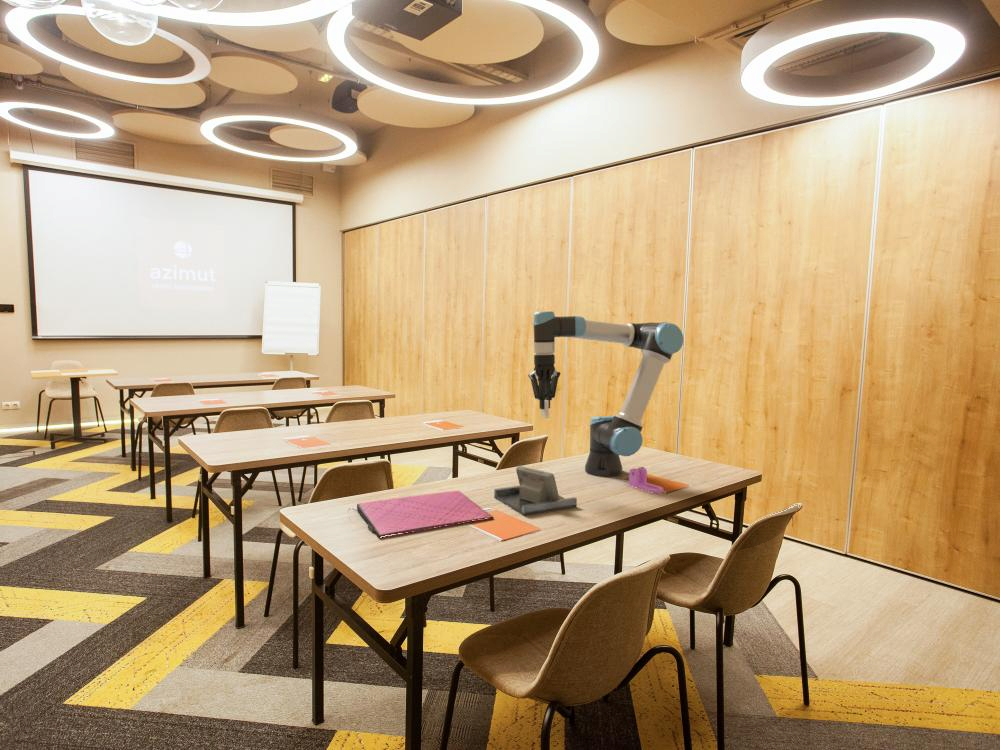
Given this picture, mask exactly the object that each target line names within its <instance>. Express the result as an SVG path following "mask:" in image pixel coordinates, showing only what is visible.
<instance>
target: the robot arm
mask: <svg viewBox="0 0 1000 750" xmlns="http://www.w3.org/2000/svg"><path fill="white" fill-rule="evenodd" d="M532 323H533V324H532V325H533V352H534V355H533V363H534V367H533V371H532V372H531V373H528V378H529V379H530V382H531V386H532V392H533V395H534V399H535V400H538V401H539V409H540V415H541V416H540V417H541V418H542V419H549V416H550V414H549V413H550V410H549V409H551V401H552V400H553V399H554V398H555V397H556V393H557V386H558V382H559V378H560V376H561V372H560V371H557V370H556V368H555V363H556V359H555V358H556V357H555V352H556V347H555V346H556V345H555V344H556V340H555V338H569V339H570V338H571V339H581V340H588V341H589V340H590V341H598V342H608V343H614V344H623V346H624V347H628V348H634V349H638V350H640V352H641V354H642V357H641V361H640V362H639V365H638V367H637V370H636V372H635V374H634V377H633V380H632V381H631V384H630V387H629V389H628V392H627V393H626V397H625V399H624V401H623V404H622V406H621V408H620V411H619V412H618V413H616V414H614V416H613V415H612V416H611V415H607V416H604V415H603V416H599V415H598V416H593V417H591V418H590V424H589V426H590V427H589V453H588V456H587V459H586V462H585V464H584V471H585V473H587V474H590V475H593V476H599V477H614V476H615V477H617V476H620V475H622V474H623V466H622V462H621V458H620V456H622V457H631V456H633V455H635V454H636V453H637V452H638V451H639V450H640V449H641V447H642V445H643V435H642V430H643V423H642V420H643V417H644V414H645V412H646V409H647V407H648V404H649V402H650V399H651V397H652V395H653V392H654V390H655V387H656V386H657V382H658V380H659V378H660V375H661V373H662V371H663V368H664V365H665V364H667V363H670V362H671V360H672V357H673V355H674V354H676V353H678V352H679V351H680V350H681V349H682V348H683V346H684V335H683V332H682V330H681V328H680V327H679V326H678V325H677V324H675V323H671V322H666V321H664V322H643V323H642V322H641V323H633V322H627V323H626V324H619V323H613V322H611V323H610V322H604V321H596V320H595V321H594V320H588V319H585V318H584V316H580V315H578V316H577V315H573V316H572V315H571V316H569V315H568V316H556V315H555V312H554V311H545V310H544V311H536V312H535V313H534V314H533V322H532Z"/></svg>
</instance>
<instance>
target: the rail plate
mask: <svg viewBox="0 0 1000 750" xmlns="http://www.w3.org/2000/svg"><path fill="white" fill-rule="evenodd" d="M493 493H494V494H493V496H494V497H493V498H495V499H496V500H498V501H499V502H501V503H502V502H503V503H502V504H504V505H506V506H507V505H508V506H507V507H509V508H510V507H511V508H510V509H512V510H513V511H515V512H517V513H518V512H519V514H520V515H522V516H524V517H528V516H532V515H533V514H534V515H538V514H539V513H540V514H545V513H544V512H546V513H550V512H557V511H563V510H567V509H574V508H577V506H578V505H577V504H578V503H577V502H578V499H577V497H576V496H573V497H567V498H565V497H563V496H561V495H559V500H553V501H547V502H541V503H533V502H529V501H526V500H522V499H520V485H514V486H506V487H499V488H494V491H493ZM527 515H528V516H527Z"/></svg>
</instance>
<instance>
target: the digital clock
mask: <svg viewBox="0 0 1000 750" xmlns="http://www.w3.org/2000/svg"><path fill="white" fill-rule="evenodd" d="M515 471H516V476H517V479H518V484H519V486H520V499H522V500H526V501H529V502H533V503H541V502H547V501H553V500H559V496H560V494H559V490H558V485H557V481H556V477H555V474H554V473H552V472H549V471H545V470H541V469H537V468H533V467H528V466H524V465H518V466H516V468H515Z"/></svg>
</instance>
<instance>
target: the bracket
mask: <svg viewBox="0 0 1000 750" xmlns="http://www.w3.org/2000/svg"><path fill="white" fill-rule="evenodd" d="M628 472H629V473H628V486H629V485H630V486H629V487H631V486H634V487H633V488H635V487H637V488H636V489H638V488H640V489H639V490H641V489H643V490H642V491H644V490H646V491H645V492H647V491H649V492H648V493H650V492H653V493H652V494H656V493H660V494H663V493H664V487H662V486H660V485H656V484H653V483H649V482H648V480H647V479H648V478H647V477H648V470H647V469H646V468H645V467H644V466H639V467H638V468H635V467H634V468H630V470H629V471H628ZM662 492H663V493H662Z"/></svg>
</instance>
